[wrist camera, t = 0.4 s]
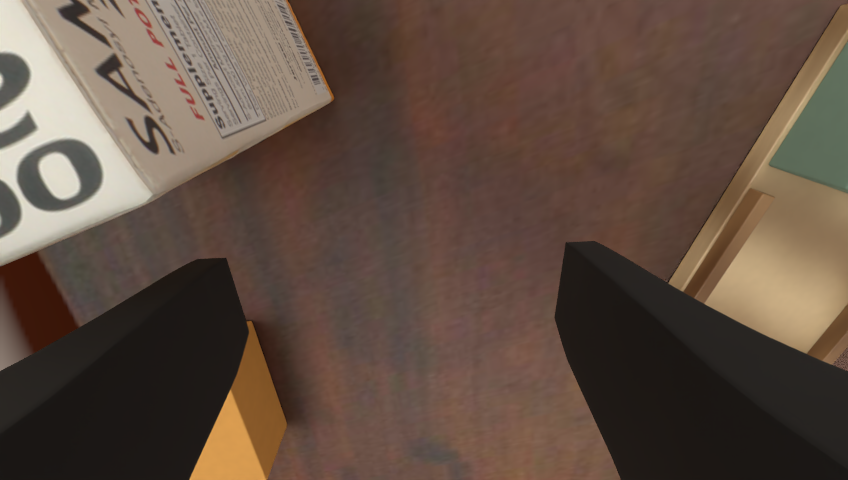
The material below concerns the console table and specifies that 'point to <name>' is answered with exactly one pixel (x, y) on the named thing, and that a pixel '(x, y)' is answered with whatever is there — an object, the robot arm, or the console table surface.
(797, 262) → the assembly board
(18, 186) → the supplement box
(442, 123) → the console table surface
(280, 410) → the orange block
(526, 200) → the console table surface
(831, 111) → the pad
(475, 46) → the console table surface
